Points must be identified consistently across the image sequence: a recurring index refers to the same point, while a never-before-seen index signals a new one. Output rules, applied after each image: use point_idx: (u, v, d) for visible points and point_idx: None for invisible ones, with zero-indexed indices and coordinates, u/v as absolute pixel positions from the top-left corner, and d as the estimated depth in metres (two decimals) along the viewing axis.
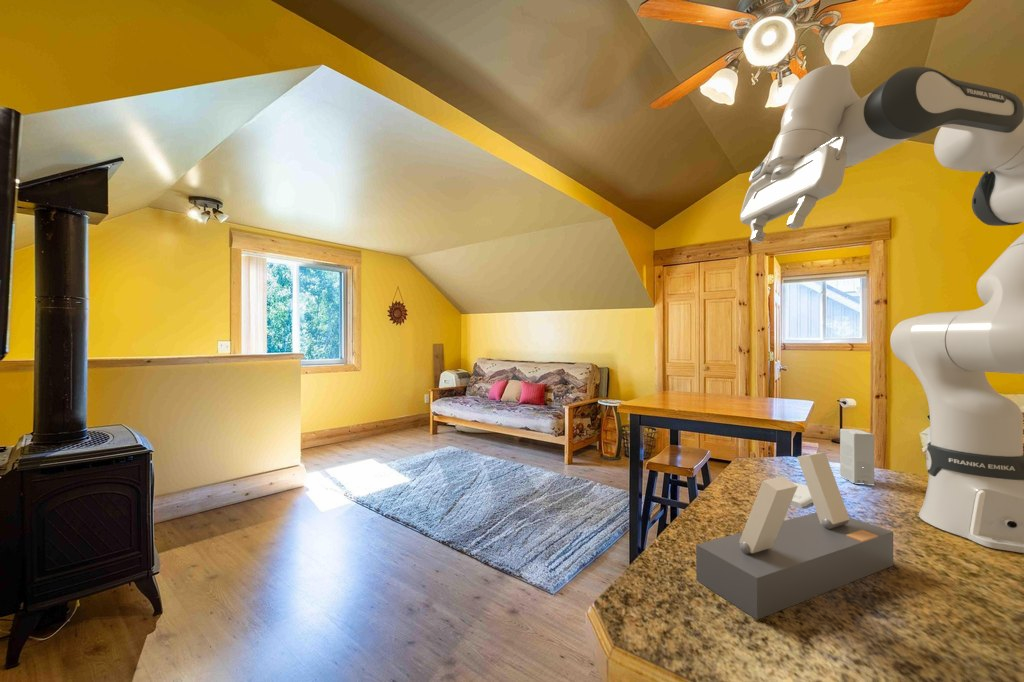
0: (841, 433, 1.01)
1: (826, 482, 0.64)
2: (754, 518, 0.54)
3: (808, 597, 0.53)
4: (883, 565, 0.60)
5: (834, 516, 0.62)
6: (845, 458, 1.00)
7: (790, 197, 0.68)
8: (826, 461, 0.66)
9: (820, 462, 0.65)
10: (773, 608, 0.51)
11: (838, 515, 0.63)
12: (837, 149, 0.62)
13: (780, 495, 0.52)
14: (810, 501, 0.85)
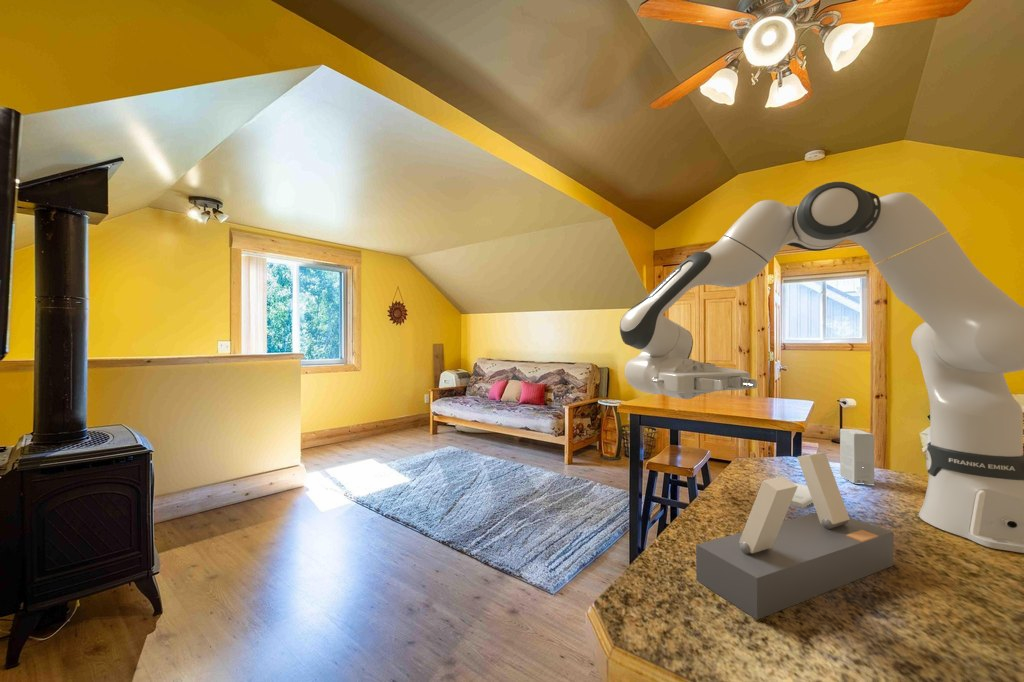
0: (841, 433, 1.01)
1: (826, 482, 0.64)
2: (754, 518, 0.54)
3: (808, 597, 0.53)
4: (883, 565, 0.60)
5: (834, 516, 0.62)
6: (845, 458, 1.00)
7: (703, 391, 0.81)
8: (826, 461, 0.66)
9: (820, 462, 0.65)
10: (773, 608, 0.51)
11: (838, 515, 0.63)
12: (658, 383, 0.84)
13: (780, 495, 0.52)
14: (811, 501, 0.85)
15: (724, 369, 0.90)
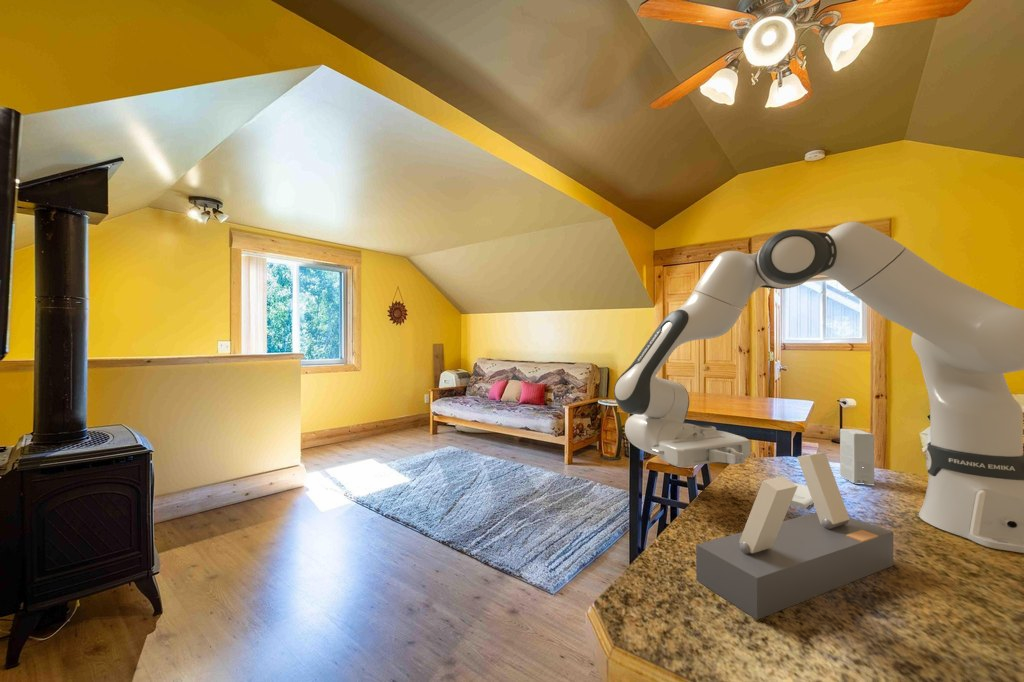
0: (841, 433, 1.01)
1: (826, 482, 0.64)
2: (754, 518, 0.54)
3: (808, 597, 0.53)
4: (883, 565, 0.60)
5: (834, 516, 0.62)
6: (845, 458, 1.00)
7: (703, 463, 0.81)
8: (826, 461, 0.66)
9: (820, 462, 0.65)
10: (773, 608, 0.51)
11: (838, 515, 0.63)
12: None
13: (780, 495, 0.52)
14: None
15: (724, 434, 0.90)
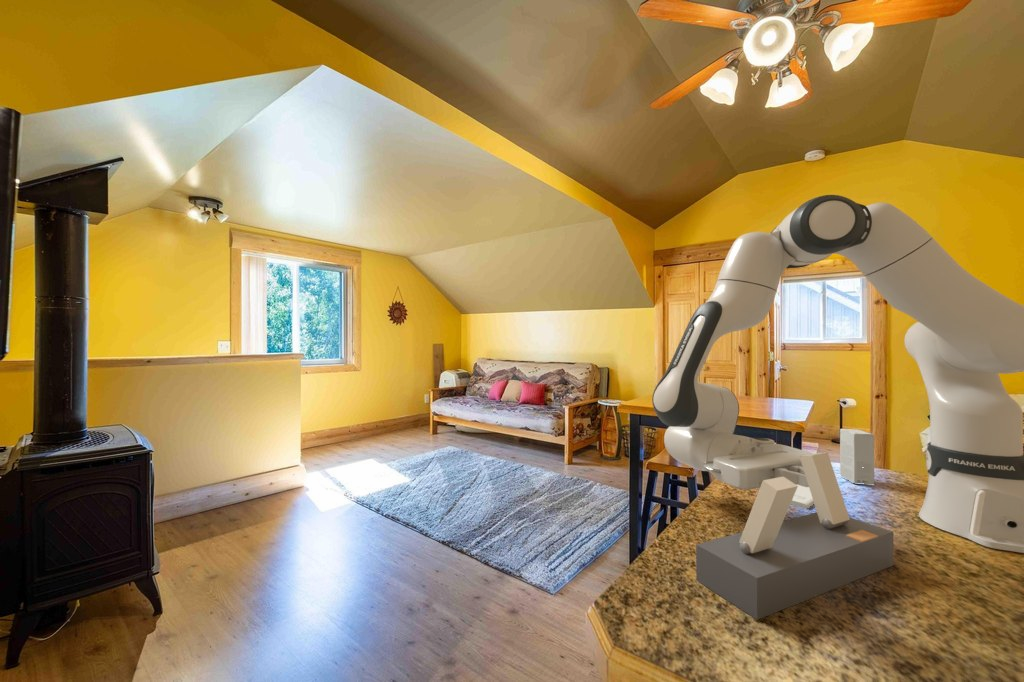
0: (841, 433, 1.01)
1: (828, 483, 0.64)
2: (754, 518, 0.54)
3: (808, 597, 0.53)
4: (883, 565, 0.60)
5: (834, 516, 0.62)
6: (845, 458, 1.00)
7: None
8: (828, 461, 0.65)
9: (822, 462, 0.65)
10: (773, 608, 0.51)
11: (838, 515, 0.62)
12: None
13: (780, 495, 0.52)
14: None
15: (786, 448, 0.78)
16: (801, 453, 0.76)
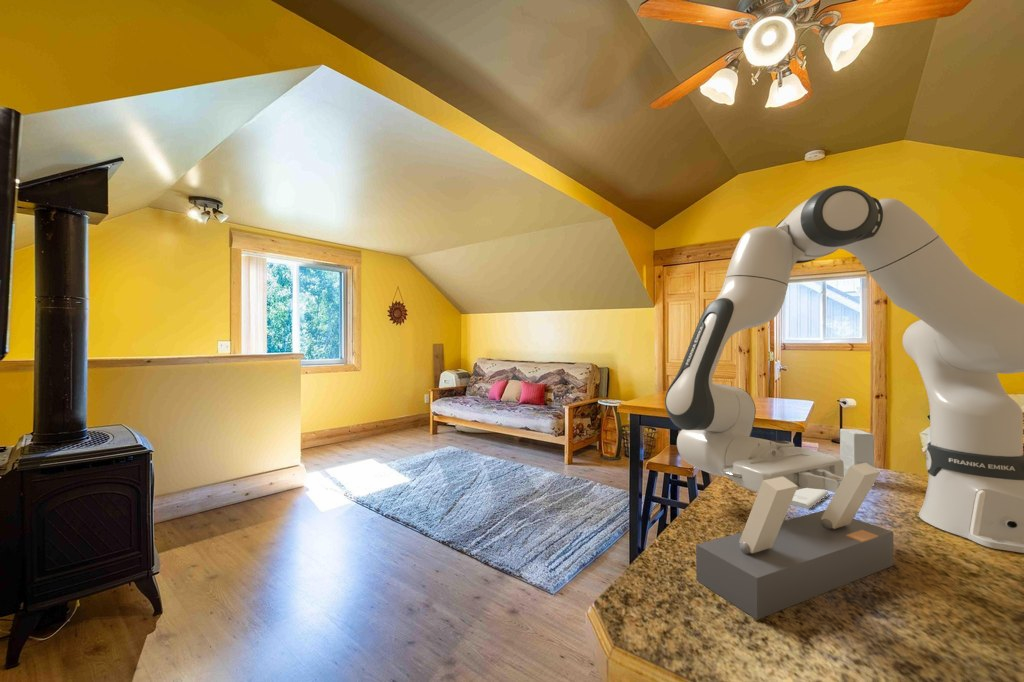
0: (841, 433, 1.01)
1: (858, 497, 0.60)
2: (754, 518, 0.54)
3: (808, 597, 0.53)
4: (883, 565, 0.60)
5: (839, 523, 0.62)
6: (845, 458, 1.00)
7: None
8: (874, 479, 0.60)
9: (868, 480, 0.59)
10: (773, 608, 0.51)
11: (843, 522, 0.62)
12: None
13: (780, 495, 0.52)
14: (815, 502, 0.85)
15: (807, 451, 0.74)
16: (824, 456, 0.72)
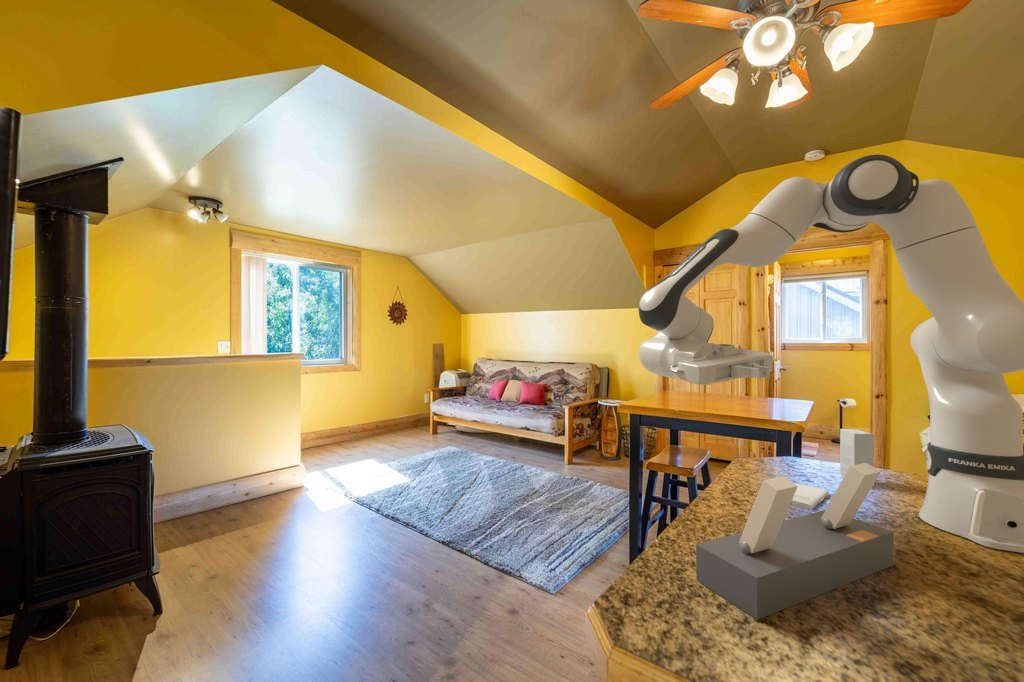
0: (841, 433, 1.01)
1: (858, 497, 0.60)
2: (754, 518, 0.54)
3: (808, 597, 0.53)
4: (883, 565, 0.60)
5: (839, 523, 0.62)
6: (845, 458, 1.00)
7: (725, 380, 0.78)
8: (874, 479, 0.60)
9: (868, 480, 0.59)
10: (773, 608, 0.51)
11: (843, 522, 0.62)
12: None
13: (780, 495, 0.52)
14: (817, 502, 0.85)
15: (744, 351, 0.86)
16: (757, 353, 0.84)
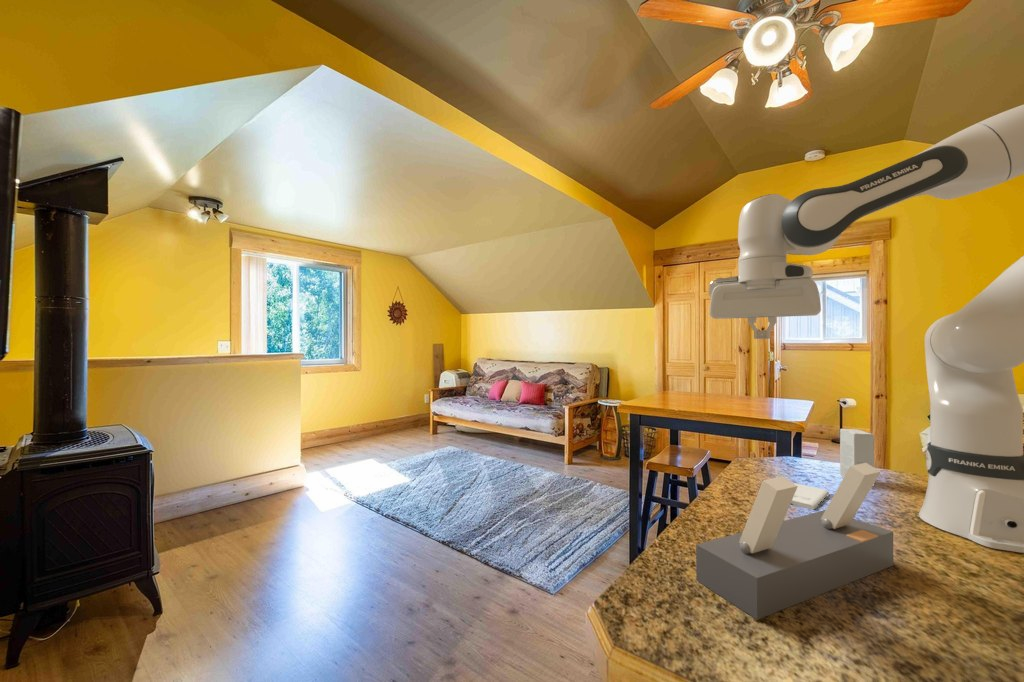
0: (841, 433, 1.01)
1: (858, 497, 0.60)
2: (754, 518, 0.54)
3: (808, 597, 0.53)
4: (883, 565, 0.60)
5: (839, 523, 0.62)
6: (845, 458, 1.00)
7: (741, 317, 0.92)
8: (874, 479, 0.60)
9: (868, 480, 0.59)
10: (773, 608, 0.51)
11: (843, 522, 0.62)
12: None
13: (780, 495, 0.52)
14: (819, 502, 0.85)
15: (807, 289, 0.82)
16: (808, 303, 0.82)
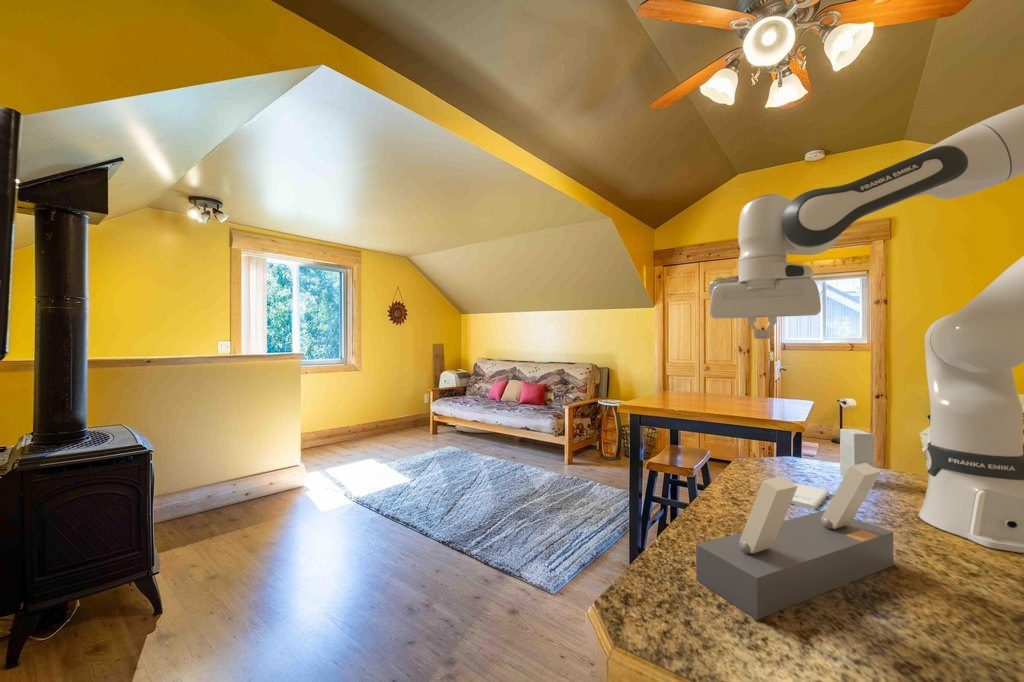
0: (841, 433, 1.01)
1: (858, 497, 0.60)
2: (754, 518, 0.54)
3: (808, 597, 0.53)
4: (883, 565, 0.60)
5: (839, 523, 0.62)
6: (845, 458, 1.00)
7: (741, 317, 0.92)
8: (874, 479, 0.60)
9: (868, 480, 0.59)
10: (773, 608, 0.51)
11: (843, 522, 0.62)
12: None
13: (780, 495, 0.52)
14: (819, 502, 0.85)
15: (807, 289, 0.82)
16: (808, 303, 0.82)
